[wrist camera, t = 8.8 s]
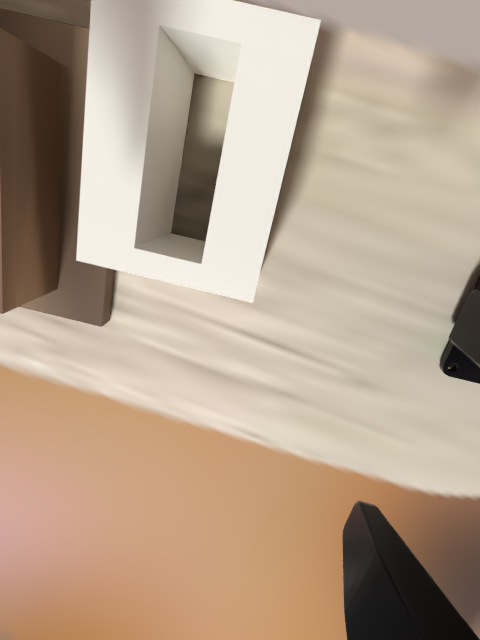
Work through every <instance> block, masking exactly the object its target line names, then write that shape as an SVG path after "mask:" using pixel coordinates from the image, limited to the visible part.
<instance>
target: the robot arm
mask: <svg viewBox="0 0 480 640" xmlns="http://www.w3.org/2000/svg"><path fill="white" fill-rule="evenodd" d="M449 338H450V342H449V344H448V346H447V348H446V351H445V353H444V355H443V357H442V359H441V361H440V365H439V366H440V369H441V370H442V371H443V372H444V373H445V374H446V375H448V376H450V377H455V378H459V379H463V380H467V381H471V382H475V383H479V384H480V277H479V279H478V282H477V284H476V286H475V288H474V290H473V291H471V292H470V293H469V295H468V297H467V299H466V301H465V303H464V305H463V308H462V310H461V312H460V314H459V316H458V318H457V321H456V323H455V325H454V327H453V329H452V331H451V334H450V336H449ZM452 363H455V365H454V367H453V368H450V369H448V366H449V365H450V364H452ZM343 574H344V575H343V579H344V612H345V622H346V632H347V640H480V639H479V638H478V637H477V635H476V634H475V633H474V631H473V630H472V629H471V628H470V626H469V625H468V624H467V622H466V621H465V620H464V618H463V617H462V616H461V615H460V613H459V612H458V611H457V609H456V608H455V607H454V606H453V604H452V603H451V602H450V600H449V599H448V598H447V596H446V595H445V594H444V593H443V592H442V590H441V589H440V587H439V586H438V585H437V584H436V582H435V581H434V580H433V578H432V577H431V576H430V575H429V574H428V572H427V571H426V570H425V568H424V567H423V565H422V564H421V563H420V562H419V560H418V559H417V558H416V556H415V555H414V554H413V553H412V551H411V550H410V549H409V547H408V546H407V545H406V543H405V542H404V541H403V540H402V538H401V537H400V536H399V534H398V533H397V532H396V531H395V529H394V528H393V527H392V525H391V524H390V523H389V522H388V520H387V519H386V518H385V516H384V515H383V514H382V513H381V511H380V510H379V509H378V508H377V507H376V506H375V505H373V504H369V503H366V502H362V501H358V502H356V503H355V505H354V506H353V509H352V511H351V513H350V515H349V517H348V519H347V521H346V524H345V526H344V529H343Z"/></svg>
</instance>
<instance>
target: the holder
mask: <svg viewBox="0 0 480 640" xmlns="http://www.w3.org/2000/svg"><path fill="white" fill-rule="evenodd" d="M320 23H321V20H319V19H315V18H310V17H306V16H301V15H297V14H292V13H288V12H283V11H279V10H274V9H270V8H266V7H261V6H257V5H252V4H248V3H243V2H239V1H234V0H91V11H90V28H89V46H88V63H87V81H86V98H85V115H84V133H83V150H82V167H81V185H80V202H79V219H78V237H77V254H76V261H80V262H84V263H89V264H93V265H97V266H101V267H105V268H110V269H114V270H118V271H122V272H126V273H130V274H135V275H139V276H143V277H147V278H151V279H155V280H160V281H164V282H168V283H172V284H176V285H180V286H185V287H189V288H193V289H197V290H201V291H205V292H210V293H214V294H218V295H222V296H226V297H230V298H235V299H239V300H243V301H247V302H251V303H253V300H254V295H255V291H256V287H257V283H258V279H259V275H260V271H261V267H262V262H263V258H264V254H265V250H266V246H267V242H268V238H269V234H270V229H271V225H272V221H273V217H274V213H275V209H276V205H277V201H278V196H279V192H280V188H281V184H282V180H283V176H284V172H285V168H286V163H287V159H288V155H289V151H290V147H291V143H292V139H293V135H294V130H295V126H296V122H297V118H298V114H299V110H300V106H301V102H302V97H303V93H304V89H305V85H306V81H307V77H308V73H309V69H310V64H311V60H312V56H313V52H314V48H315V44H316V40H317V36H318V31H319V27H320ZM194 74H199V75H203V76H207V77H212V78H216V79H220V80H225V81H229V82H234V88H233V94H232V99H231V105H230V110H229V116H228V121H227V127H226V132H225V138H224V143H223V149H222V154H221V160H220V165H219V171H218V176H217V182H216V187H215V193H214V198H213V204H212V209H211V215H210V220H209V226H208V231H207V236H206V241H201V240H197V239H193V238H189V237H185V236H180V235H176V234H172V233H171V230H172V224H173V217H174V210H175V203H176V197H177V190H178V183H179V176H180V169H181V163H182V156H183V149H184V142H185V136H186V129H187V122H188V115H189V108H190V102H191V95H192V88H193V81H194Z"/></svg>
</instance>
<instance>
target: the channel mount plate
mask: <svg viewBox="0 0 480 640" xmlns="http://www.w3.org/2000/svg"><path fill="white" fill-rule="evenodd" d="M88 46H89V29H88V28H83V27H79V26H74V25H70V24H66V23H61V22H57V21H52V20H48V19H44V18H39V17H35V16H30V15H26V14H21V13H17V12H13V11H8V10H4V9H0V313H1V314H3V313H5V312H8V311H10V310H12V309H14V308H17V307H23V308H27V309H31V310H35V311H39V312H43V313H47V314H51V315H56V316H60V317H64V318H68V319H72V320H76V321H80V322H84V323H88V324H93V325H97V326H101V327H102V326H103V325H104V324H106V323H107V322H108V321H110V312H111V302H112V292H113V281H114V271H115V270H114V269H110V268H105V267H101V266H97V265H93V264H89V263H84V262H80V261H76V254H77V237H78V219H79V202H80V185H81V167H82V150H83V133H84V115H85V98H86V81H87V63H88Z"/></svg>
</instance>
